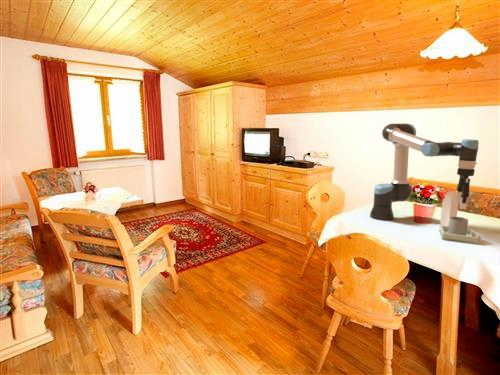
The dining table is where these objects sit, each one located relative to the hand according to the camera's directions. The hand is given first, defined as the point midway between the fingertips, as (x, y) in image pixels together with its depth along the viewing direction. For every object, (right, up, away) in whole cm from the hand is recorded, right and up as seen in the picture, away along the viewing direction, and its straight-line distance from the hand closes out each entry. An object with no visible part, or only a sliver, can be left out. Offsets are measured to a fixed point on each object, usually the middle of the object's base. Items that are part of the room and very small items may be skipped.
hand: (460, 205), depth 164 cm
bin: (0, -18, +3) cm, 18 cm away
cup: (0, -17, +3) cm, 18 cm away
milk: (+9, -14, +24) cm, 29 cm away
